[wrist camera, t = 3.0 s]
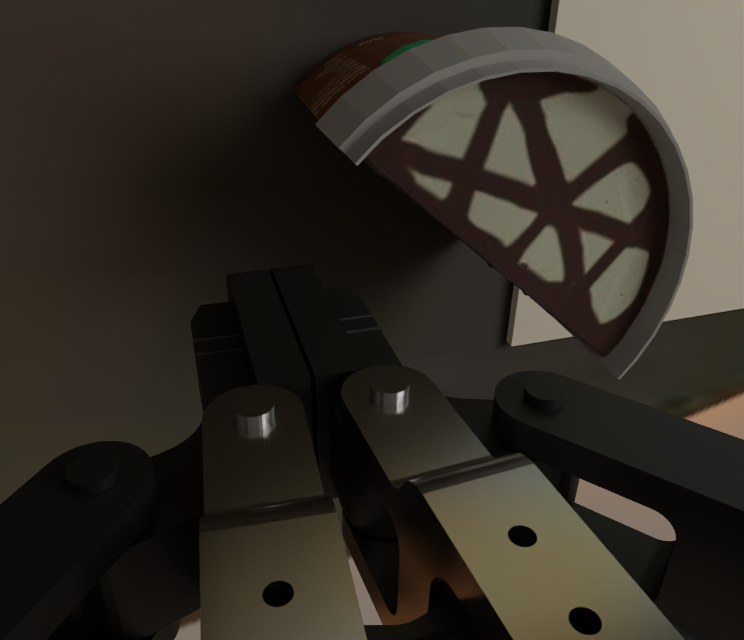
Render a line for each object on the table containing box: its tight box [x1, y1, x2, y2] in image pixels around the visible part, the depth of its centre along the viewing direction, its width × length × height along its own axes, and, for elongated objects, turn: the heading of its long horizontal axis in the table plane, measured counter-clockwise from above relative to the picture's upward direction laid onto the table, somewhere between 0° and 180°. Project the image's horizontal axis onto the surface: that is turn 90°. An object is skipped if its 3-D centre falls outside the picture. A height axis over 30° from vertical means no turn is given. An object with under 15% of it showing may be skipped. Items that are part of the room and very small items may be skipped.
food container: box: [294, 27, 693, 379], centre depth 22 cm, size 12×6×10 cm, turn 48°
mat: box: [506, 0, 744, 346], centre depth 29 cm, size 14×22×1 cm, turn 179°
